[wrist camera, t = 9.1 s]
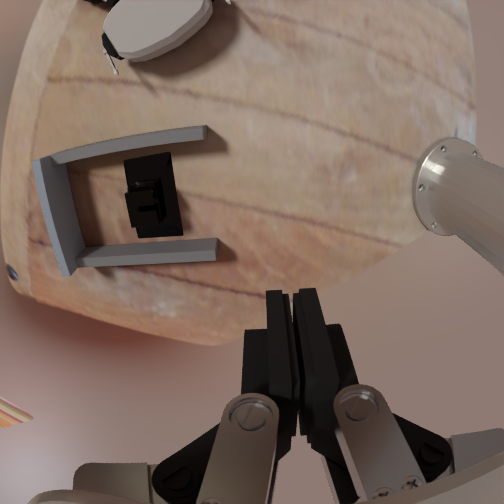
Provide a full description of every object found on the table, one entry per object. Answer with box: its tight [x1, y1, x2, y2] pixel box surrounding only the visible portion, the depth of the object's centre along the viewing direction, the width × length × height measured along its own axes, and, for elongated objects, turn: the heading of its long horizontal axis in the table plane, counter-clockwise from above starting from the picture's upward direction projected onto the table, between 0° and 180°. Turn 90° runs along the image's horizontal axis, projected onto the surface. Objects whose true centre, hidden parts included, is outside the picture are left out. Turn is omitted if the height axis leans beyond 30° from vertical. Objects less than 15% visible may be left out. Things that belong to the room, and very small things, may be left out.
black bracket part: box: [124, 152, 183, 238], centre depth 30 cm, size 12×7×5 cm, turn 4°
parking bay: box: [32, 125, 218, 276], centre depth 29 cm, size 18×14×5 cm
